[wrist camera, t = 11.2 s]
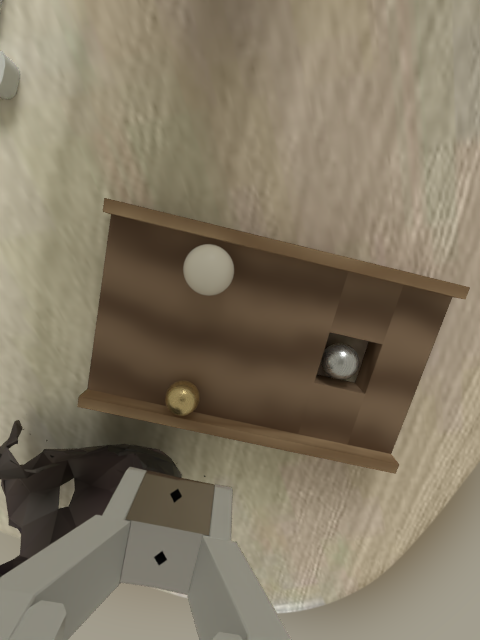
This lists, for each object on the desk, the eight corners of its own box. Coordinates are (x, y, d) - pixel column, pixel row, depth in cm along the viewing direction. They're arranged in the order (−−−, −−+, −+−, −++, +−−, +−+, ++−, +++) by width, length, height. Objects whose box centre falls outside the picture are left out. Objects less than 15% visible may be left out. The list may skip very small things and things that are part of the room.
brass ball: (172, 372, 27) (164, 386, 24) (204, 379, 27) (200, 393, 24) (167, 401, 27) (158, 418, 25) (198, 407, 28) (193, 425, 25)
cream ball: (193, 240, 24) (184, 236, 20) (239, 251, 25) (239, 250, 21) (184, 286, 25) (173, 291, 21) (229, 297, 25) (226, 304, 21)
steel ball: (351, 351, 25) (371, 351, 27) (320, 337, 27) (340, 338, 29) (338, 387, 25) (358, 384, 28) (309, 369, 28) (330, 368, 30)
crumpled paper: (33, 524, 33) (211, 507, 33) (-124, 714, 18) (199, 678, 19) (14, 404, 31) (202, 390, 32) (-174, 508, 16) (181, 478, 17)
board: (124, 206, 26) (104, 198, 22) (437, 283, 28) (470, 287, 24) (98, 387, 30) (77, 406, 26) (376, 446, 31) (395, 473, 27)
